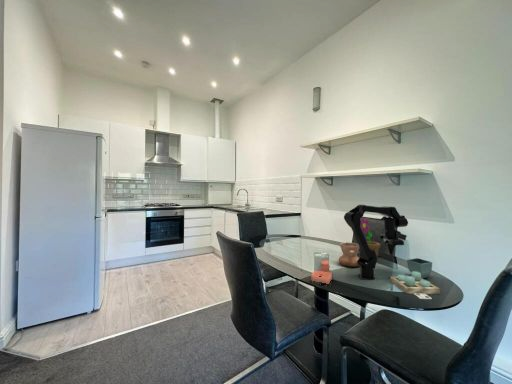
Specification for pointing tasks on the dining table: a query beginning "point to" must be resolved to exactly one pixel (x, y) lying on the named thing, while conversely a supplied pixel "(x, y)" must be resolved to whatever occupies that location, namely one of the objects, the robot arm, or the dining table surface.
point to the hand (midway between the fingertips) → (390, 254)
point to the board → (417, 288)
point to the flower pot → (420, 266)
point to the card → (422, 296)
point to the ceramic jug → (349, 254)
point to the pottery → (322, 273)
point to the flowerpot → (371, 244)
